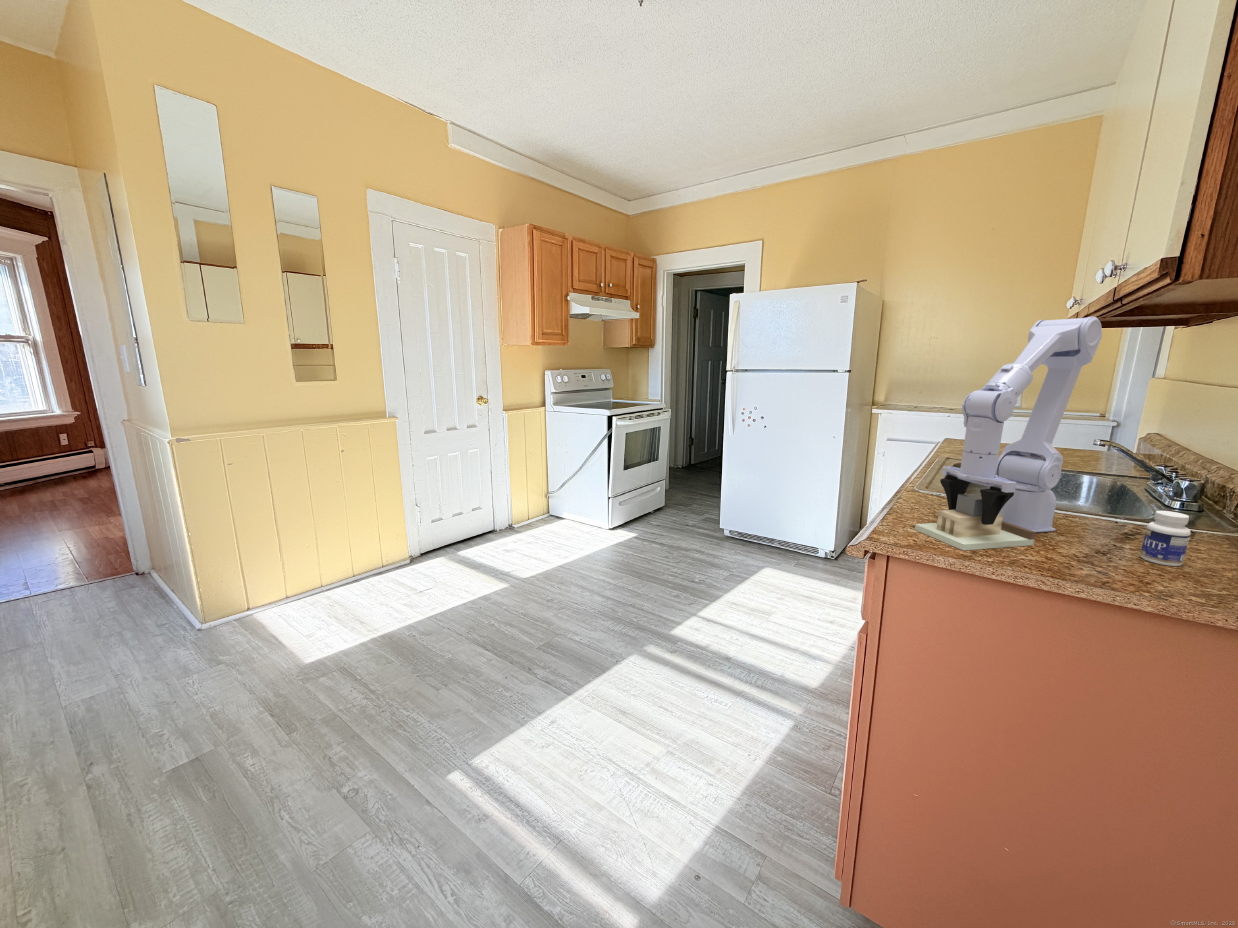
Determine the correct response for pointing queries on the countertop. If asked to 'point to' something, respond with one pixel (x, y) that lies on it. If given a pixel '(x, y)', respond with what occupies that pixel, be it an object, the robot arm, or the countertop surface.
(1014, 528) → the pale green flat slab
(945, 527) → the pallet
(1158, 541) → the pill bottle
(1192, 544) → the countertop surface
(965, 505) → the gray cube
